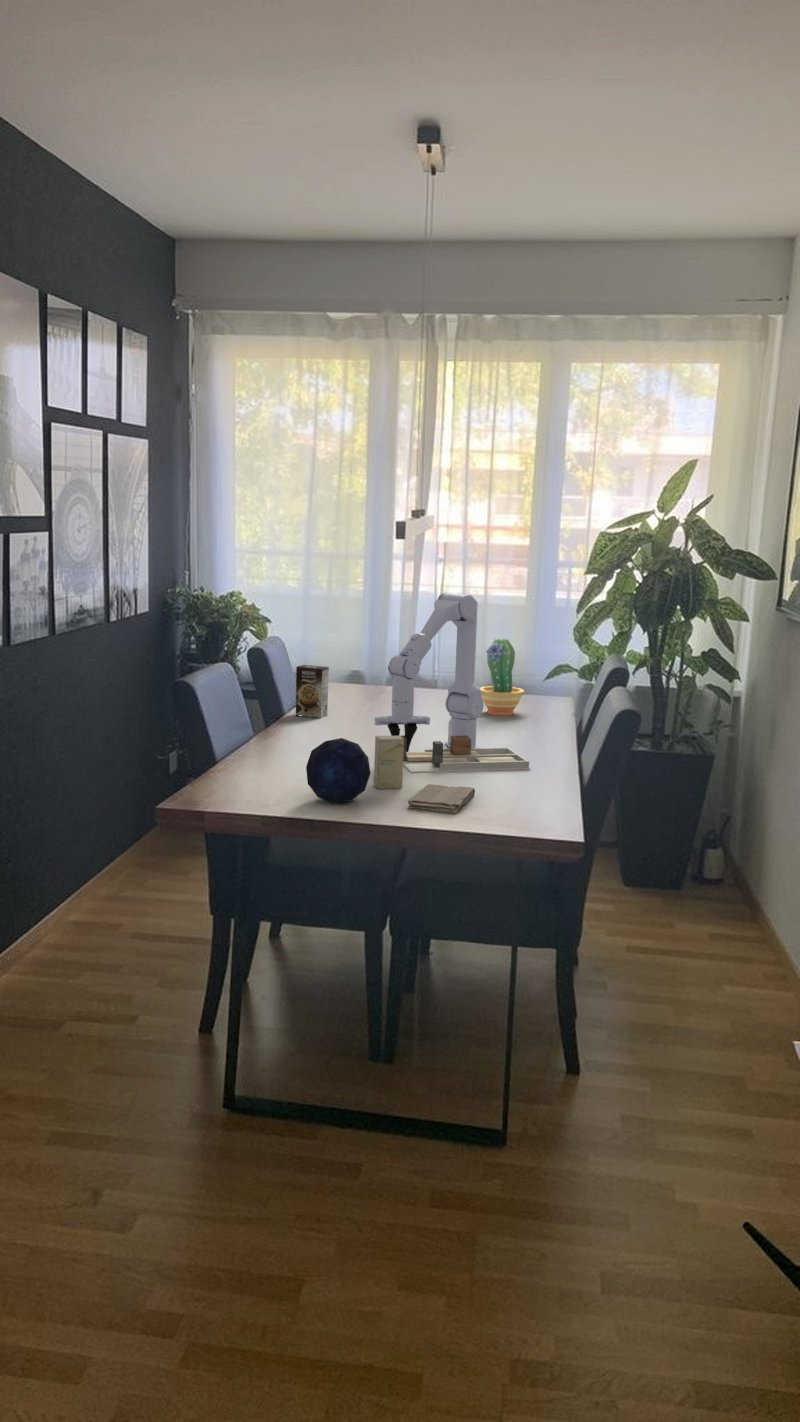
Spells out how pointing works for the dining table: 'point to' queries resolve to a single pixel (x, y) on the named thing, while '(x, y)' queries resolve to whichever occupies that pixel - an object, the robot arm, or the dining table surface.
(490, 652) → the potted cactus
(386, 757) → the skincare box
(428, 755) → the strip
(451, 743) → the walnut cube
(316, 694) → the coffee box
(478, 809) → the dining table surface
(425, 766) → the lane board
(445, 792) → the washcloth
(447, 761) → the broken strip
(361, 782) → the decorative orb
